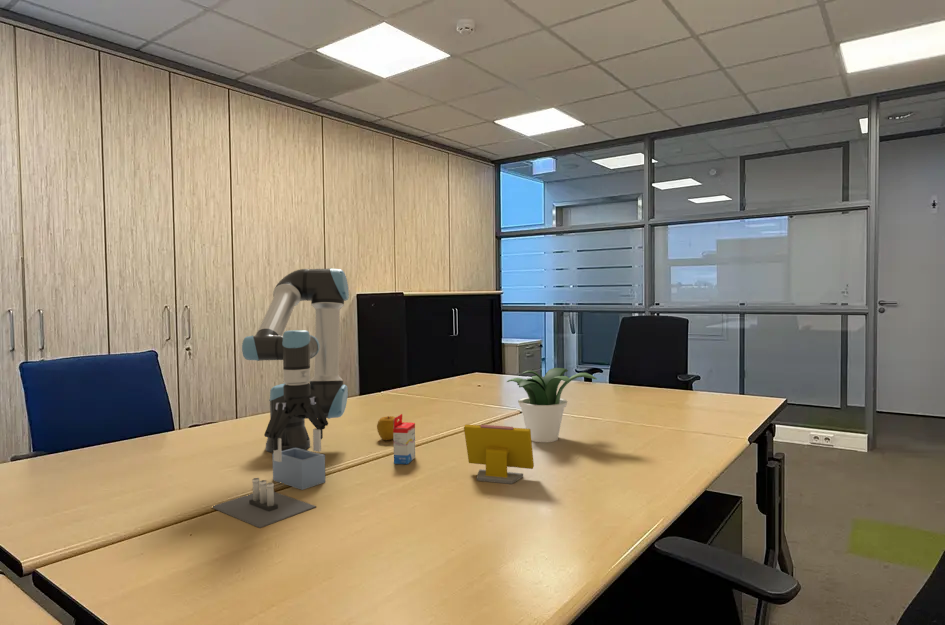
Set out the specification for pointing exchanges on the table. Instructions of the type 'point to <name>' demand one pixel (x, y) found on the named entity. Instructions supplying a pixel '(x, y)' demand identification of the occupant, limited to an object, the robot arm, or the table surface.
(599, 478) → the table surface
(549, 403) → the potted plant
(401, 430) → the ink box
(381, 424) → the apple
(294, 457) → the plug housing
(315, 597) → the table surface
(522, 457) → the yellow framed monitor
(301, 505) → the header
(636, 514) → the table surface
